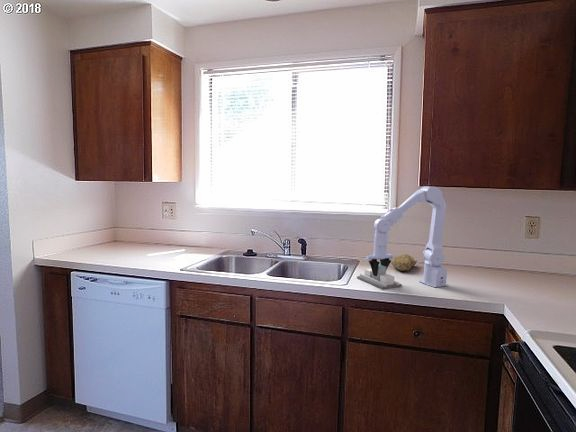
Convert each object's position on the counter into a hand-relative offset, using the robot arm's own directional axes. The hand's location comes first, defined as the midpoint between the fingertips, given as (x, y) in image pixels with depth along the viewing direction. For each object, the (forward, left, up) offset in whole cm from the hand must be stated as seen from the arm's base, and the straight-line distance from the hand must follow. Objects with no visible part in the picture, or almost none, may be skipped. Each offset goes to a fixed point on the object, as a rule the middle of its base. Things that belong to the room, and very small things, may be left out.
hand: (378, 275), depth 167 cm
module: (0, 0, -2) cm, 2 cm away
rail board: (0, 0, -3) cm, 3 cm away
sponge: (+16, -29, -4) cm, 34 cm away
